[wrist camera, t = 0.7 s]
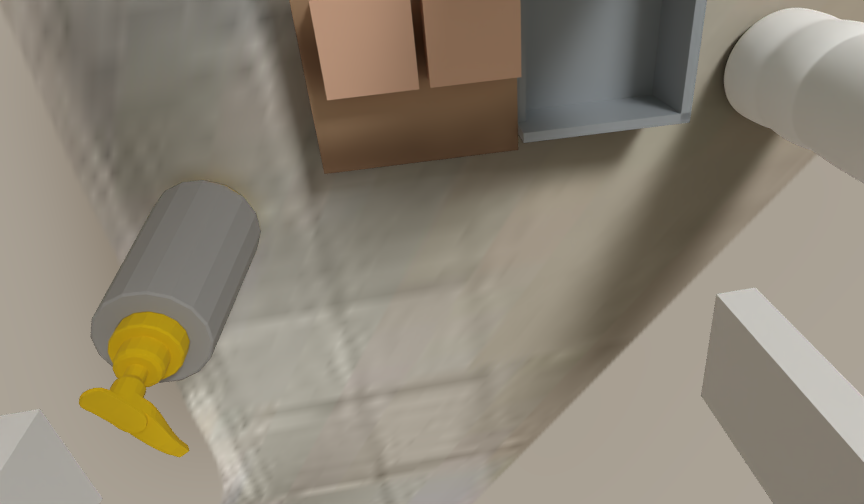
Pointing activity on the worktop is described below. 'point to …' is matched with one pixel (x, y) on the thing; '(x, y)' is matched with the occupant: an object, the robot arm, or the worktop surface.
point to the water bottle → (804, 83)
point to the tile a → (365, 46)
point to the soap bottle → (170, 303)
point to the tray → (606, 65)
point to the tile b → (471, 40)
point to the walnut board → (405, 113)
